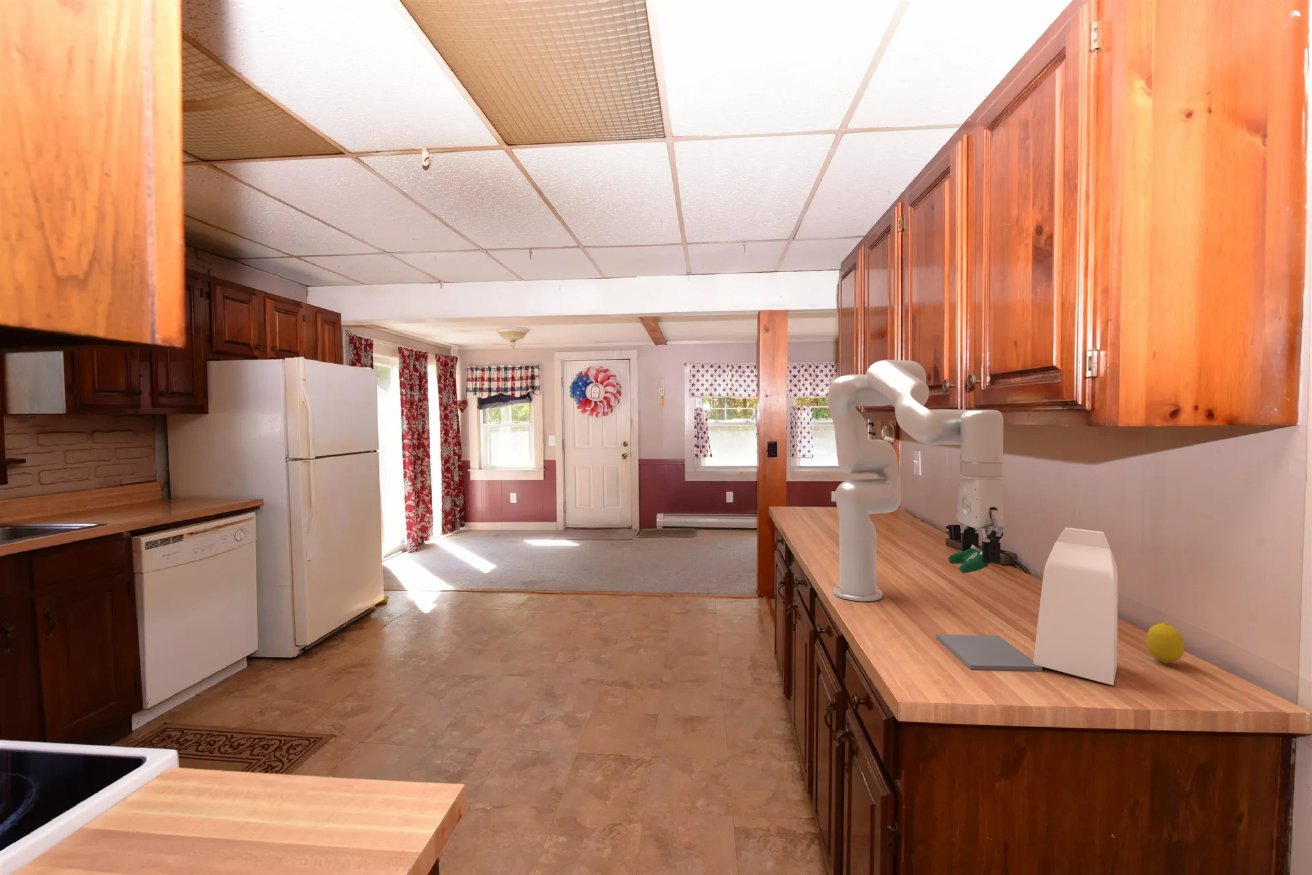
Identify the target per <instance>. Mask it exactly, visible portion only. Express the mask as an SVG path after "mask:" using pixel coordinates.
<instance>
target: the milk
mask: <svg viewBox="0 0 1312 875" xmlns="http://www.w3.org/2000/svg"><path fill="white" fill-rule="evenodd" d="M1118 575H1119V574H1118V567H1117V562H1116V559H1115V556H1114V554H1113V551H1112V549H1111V545H1110V544H1109V541H1108V539H1107V537H1106V535H1105V532H1104V531H1099V530H1098V531H1097V530H1090V529H1083V528H1081V529H1080V528H1076V527H1075V528H1073V527H1064V529H1063V530H1062V531H1061V533H1060V535H1059V536H1058V538H1057V539H1056V541H1055V542H1054V544H1053V547H1052V549H1051V551H1050V554H1049V556H1048V557H1047V559H1046V562H1045V565H1044V570H1043V576H1042V584H1041V593H1040V601H1039V610H1038V611H1039V612H1038V617H1037V625H1036V626H1037V627H1036V633H1035V634H1036V635H1035V644H1034V652H1033V659H1032V660H1033V664H1035V665H1038V666H1042V668H1047V669H1050V670H1053V671H1058V672H1062V673H1066V674H1068V675H1074V676H1076V677H1081V678H1084V679H1087V680H1092V681H1096V682H1099V683H1102V684H1108V685H1111V686H1114V683H1115V679H1116V672H1117V670H1118V669H1117V668H1118V598H1119V597H1118V593H1119V592H1118V589H1119V588H1118V584H1119V583H1118V582H1119V580H1118V578H1119V576H1118Z"/></svg>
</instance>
